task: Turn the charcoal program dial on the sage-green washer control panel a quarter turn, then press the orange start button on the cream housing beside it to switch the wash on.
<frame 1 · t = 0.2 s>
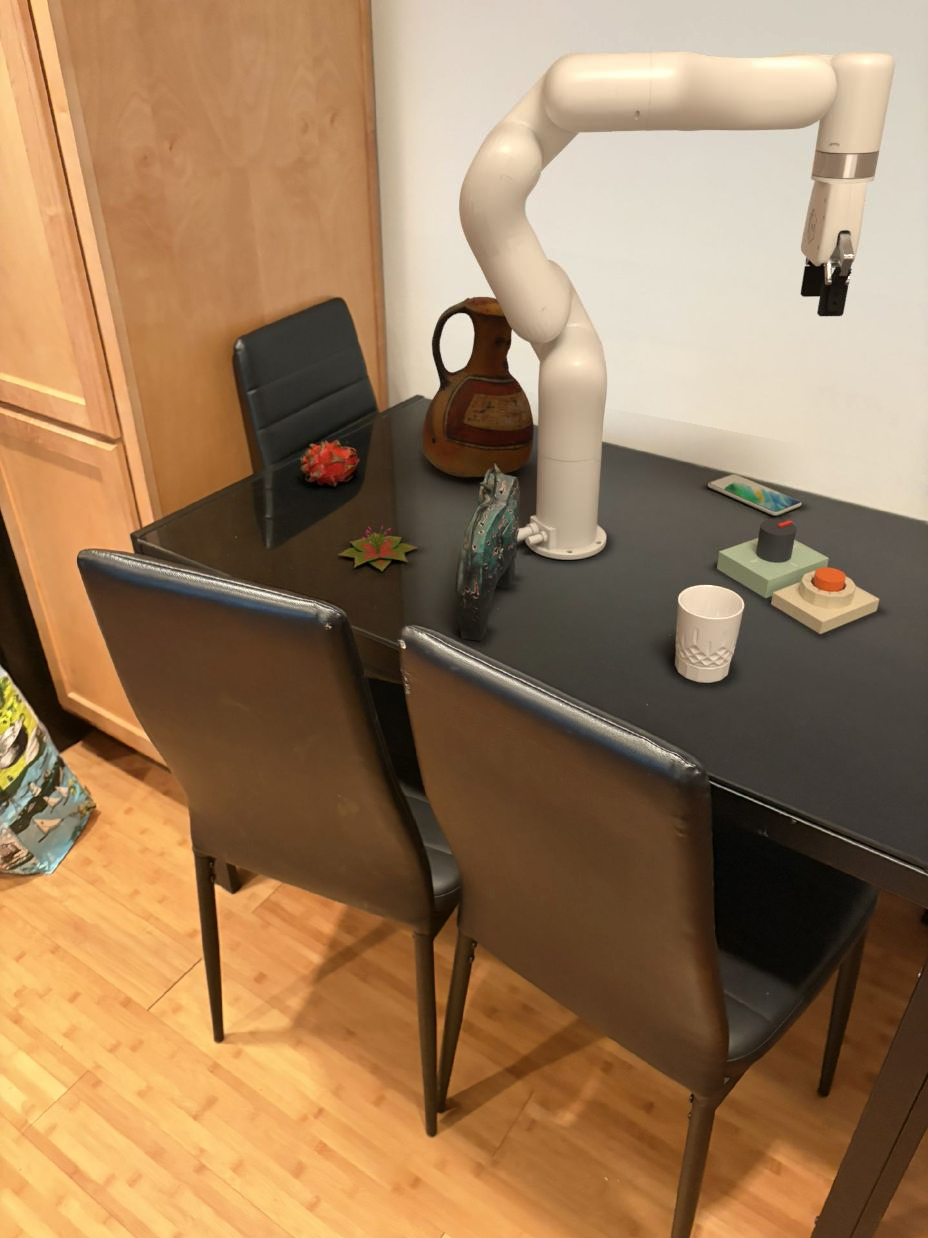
hand: (820, 305, 130), 37 cm above the table, tool pointing down, fingers open, 9 cm apart
white cup: (701, 669, 123), on the table
smartphone: (752, 497, 164), on the table
program dial: (776, 539, 140), point 5 cm above the table, hinge at 0.0°
start button: (829, 580, 132), point 4 cm above the table, slide at 0.1 cm
dragon fruit: (332, 482, 173), on the table
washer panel: (770, 572, 143), on the table
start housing: (823, 607, 135), on the table
lily flower: (378, 555, 150), on the table
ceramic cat: (490, 607, 137), on the table
ceramic pitcher: (478, 468, 177), on the table
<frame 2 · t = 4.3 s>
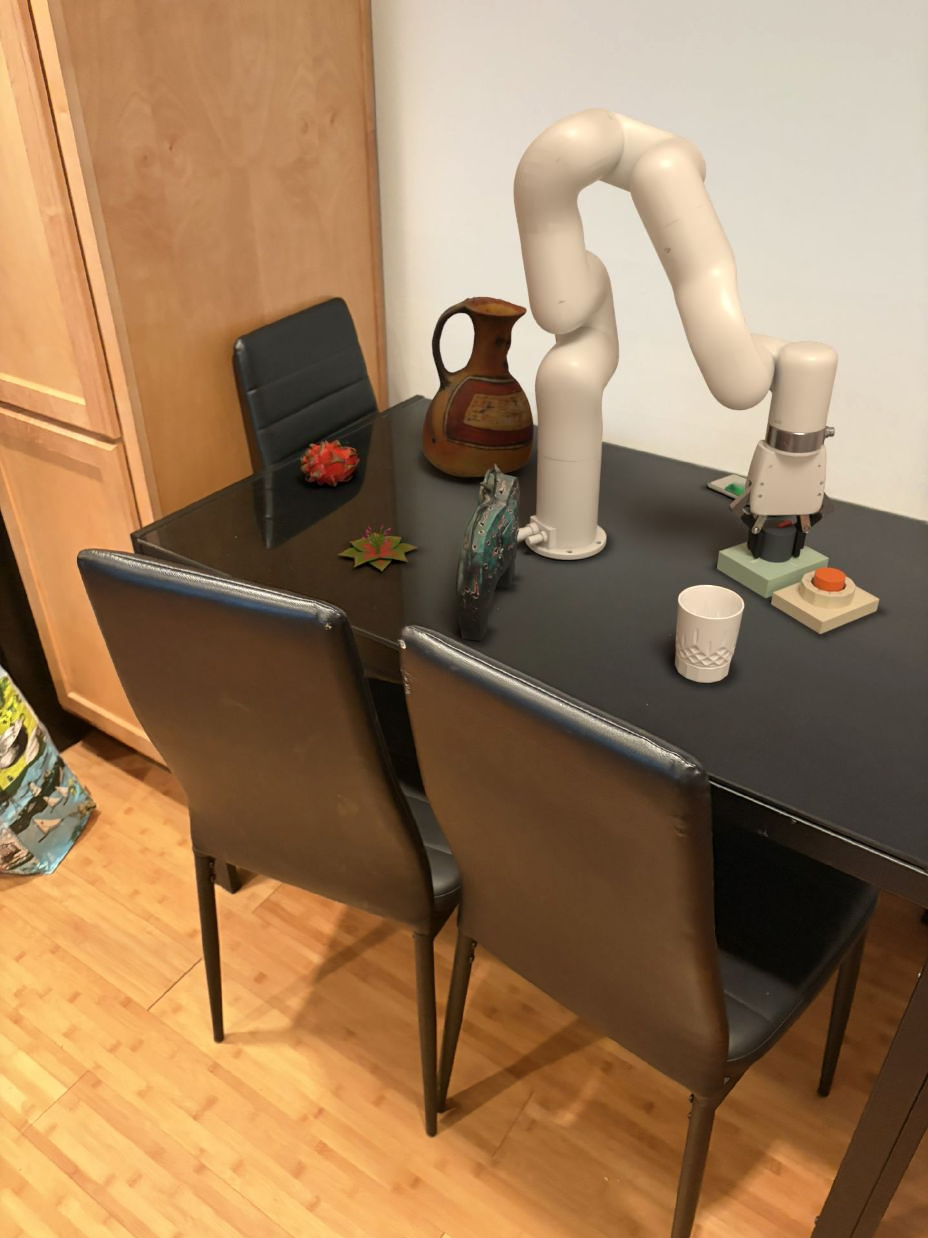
hand: (774, 551, 141), 3 cm above the table, tool pointing down, fingers closed on program dial, 5 cm apart
program dial: (776, 539, 140), point 5 cm above the table, hinge at 0.0°, touching gripper
everything else where it was.
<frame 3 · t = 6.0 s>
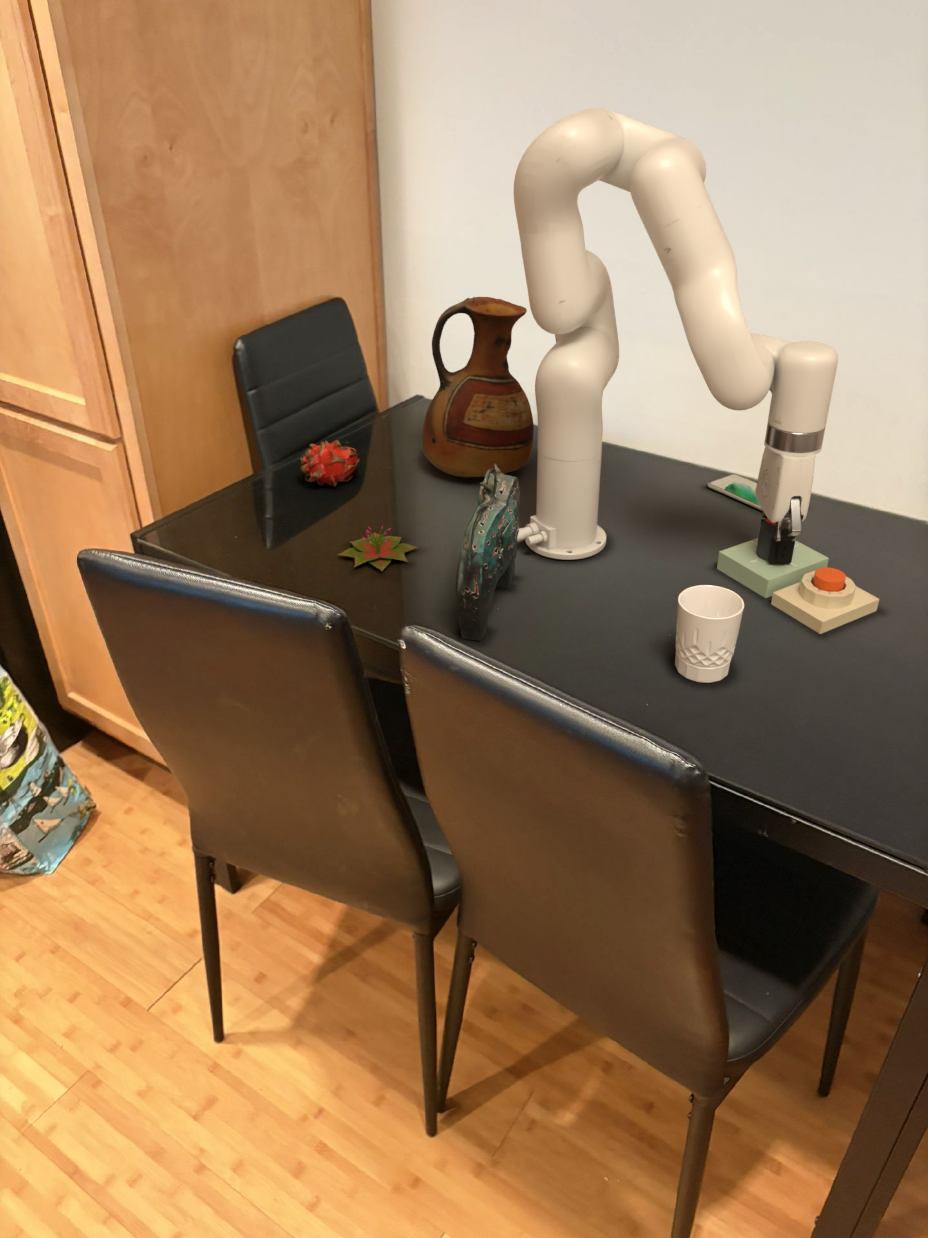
hand: (774, 552, 141), 3 cm above the table, tool pointing down, fingers closed on program dial, 5 cm apart
program dial: (776, 539, 140), point 5 cm above the table, hinge at 89.7°, touching gripper
everything else where it was.
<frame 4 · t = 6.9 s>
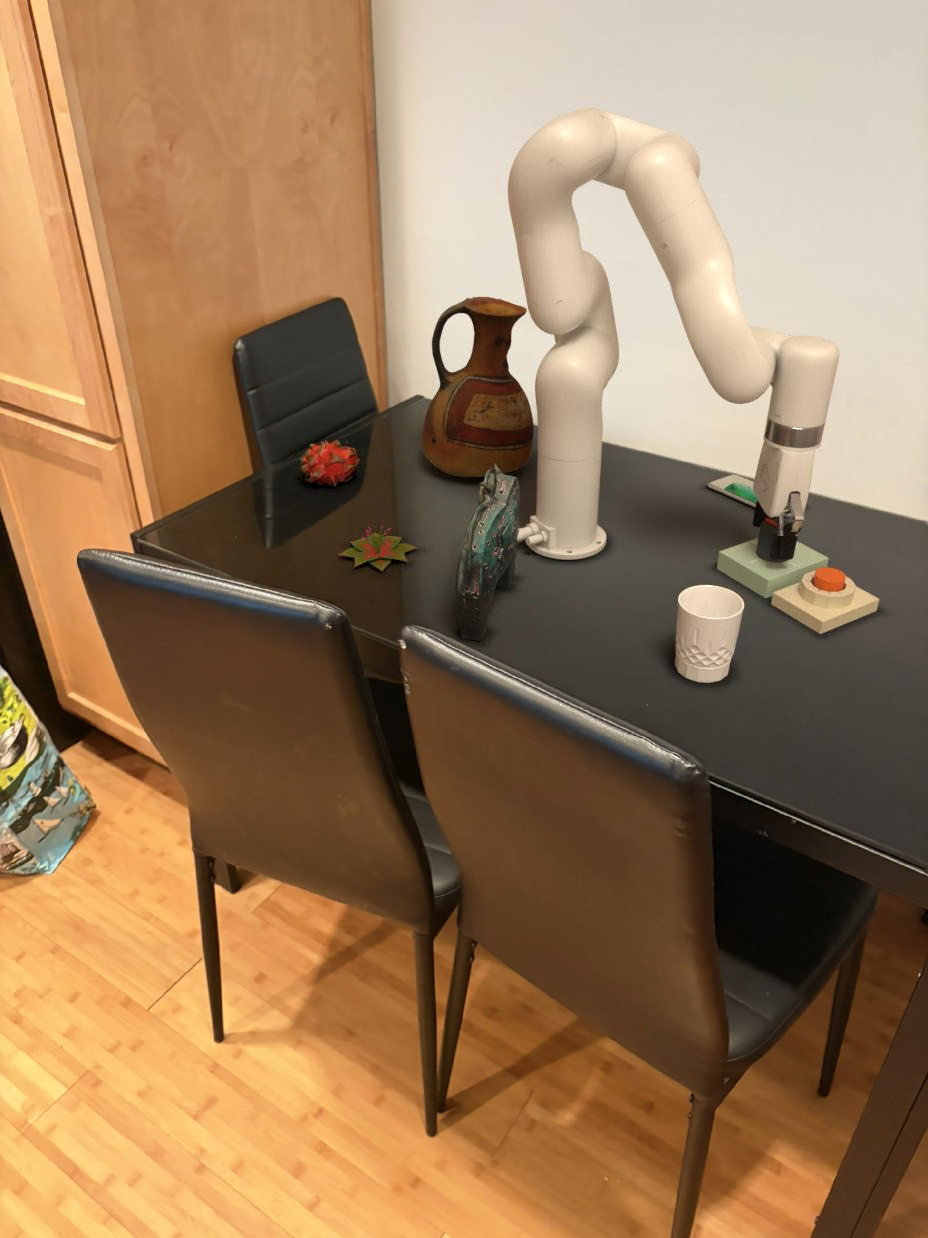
hand: (771, 541, 140), 5 cm above the table, tool pointing down, fingers open, 9 cm apart
program dial: (776, 539, 140), point 5 cm above the table, hinge at 88.6°
everything else where it was.
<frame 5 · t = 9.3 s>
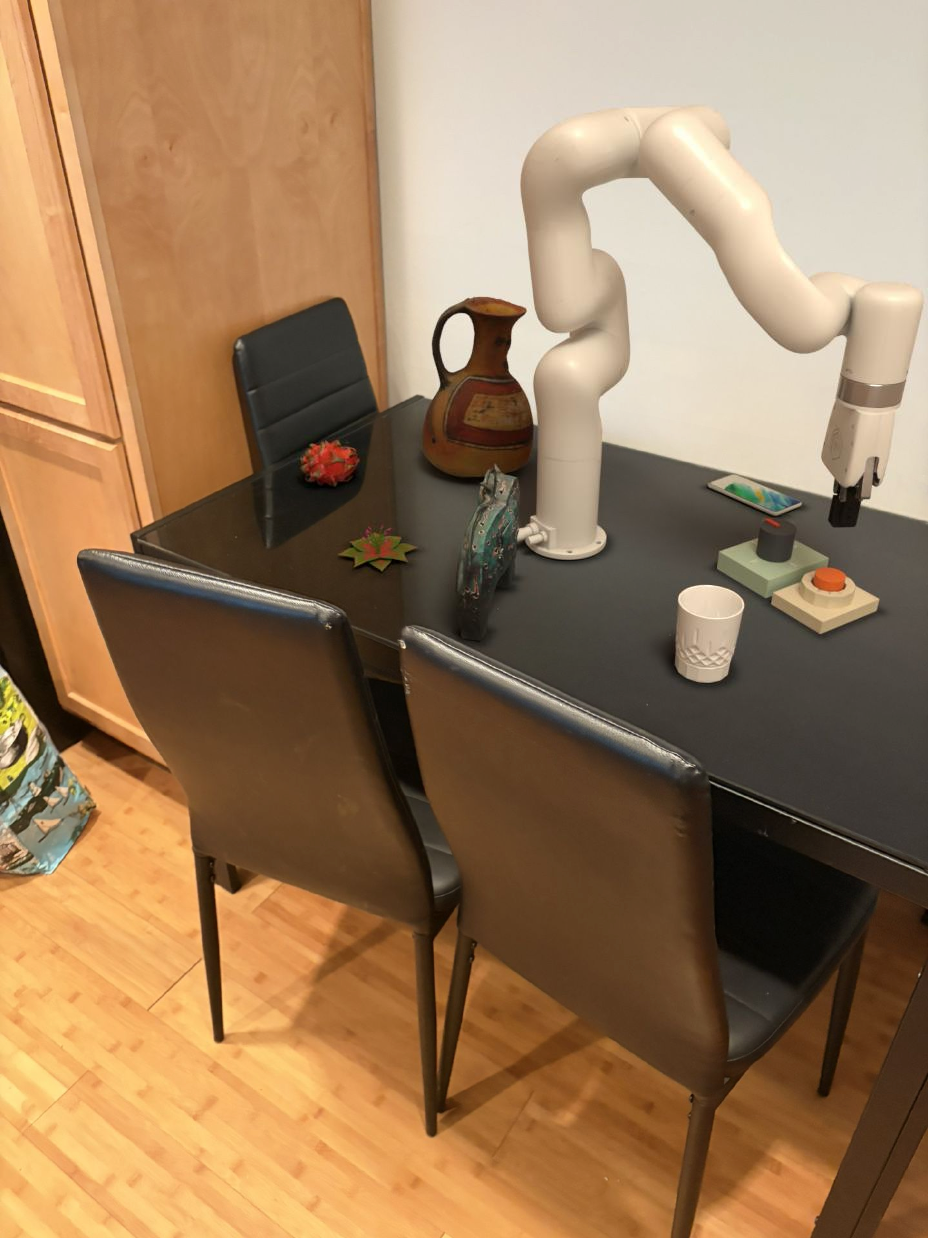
hand: (841, 524, 127), 13 cm above the table, tool pointing down, fingers closed
nothing on the table moved.
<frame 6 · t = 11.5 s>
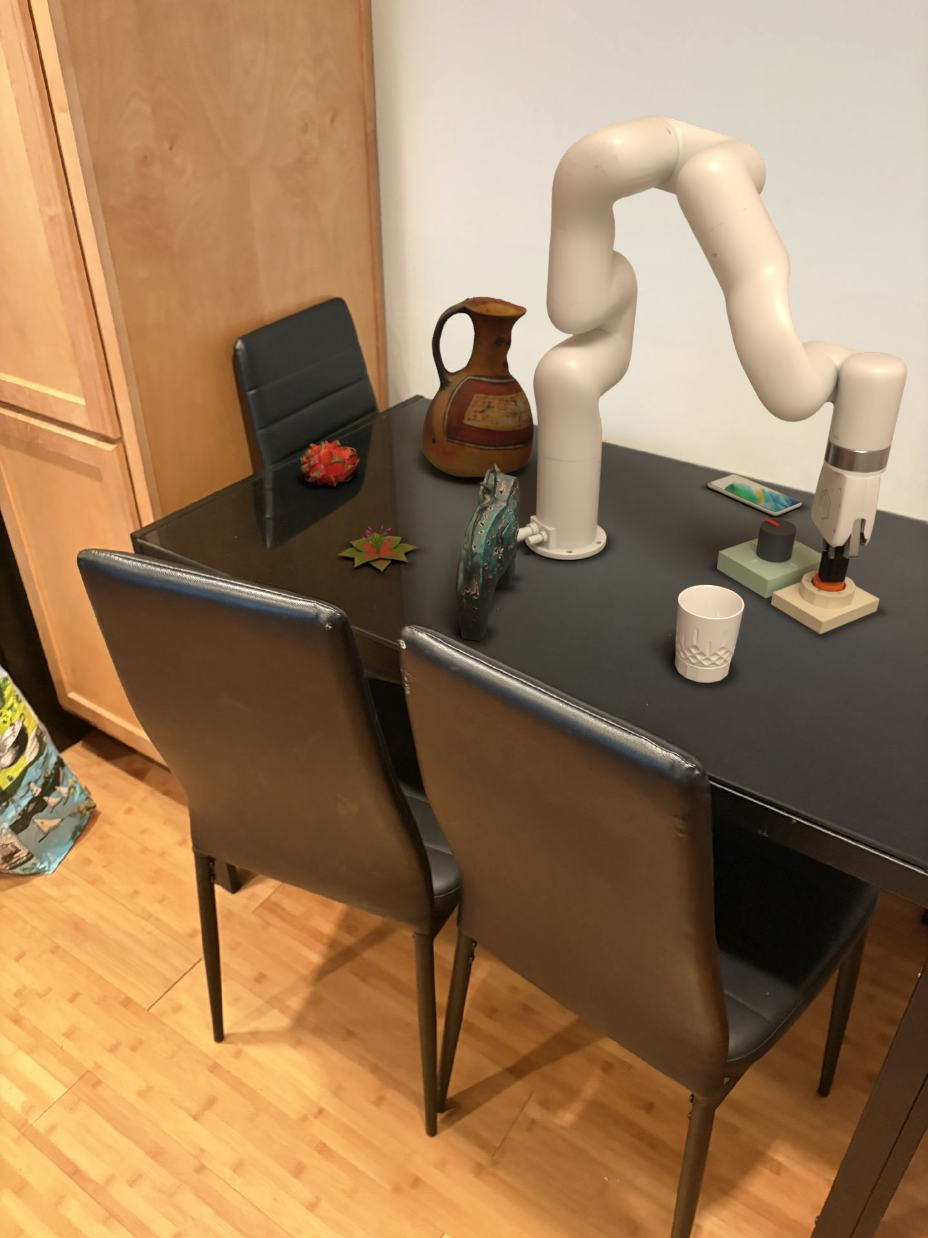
hand: (830, 579, 132), 5 cm above the table, tool pointing down, fingers closed
start button: (828, 584, 133), point 4 cm above the table, slide at -0.6 cm, touching gripper
everything else where it was.
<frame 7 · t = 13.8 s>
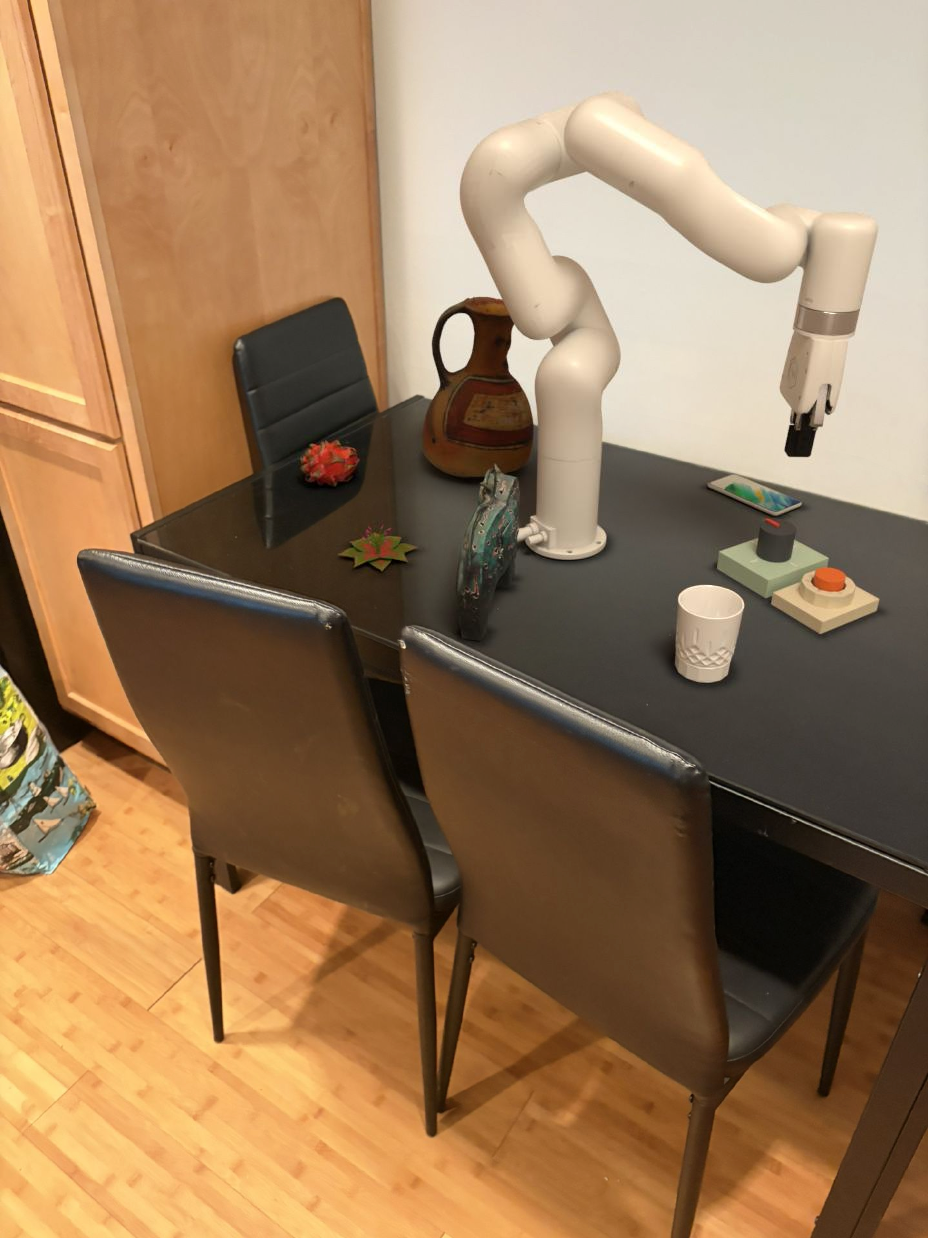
hand: (797, 454, 132), 19 cm above the table, tool pointing down, fingers closed
start button: (829, 580, 132), point 4 cm above the table, slide at 0.1 cm
everything else where it was.
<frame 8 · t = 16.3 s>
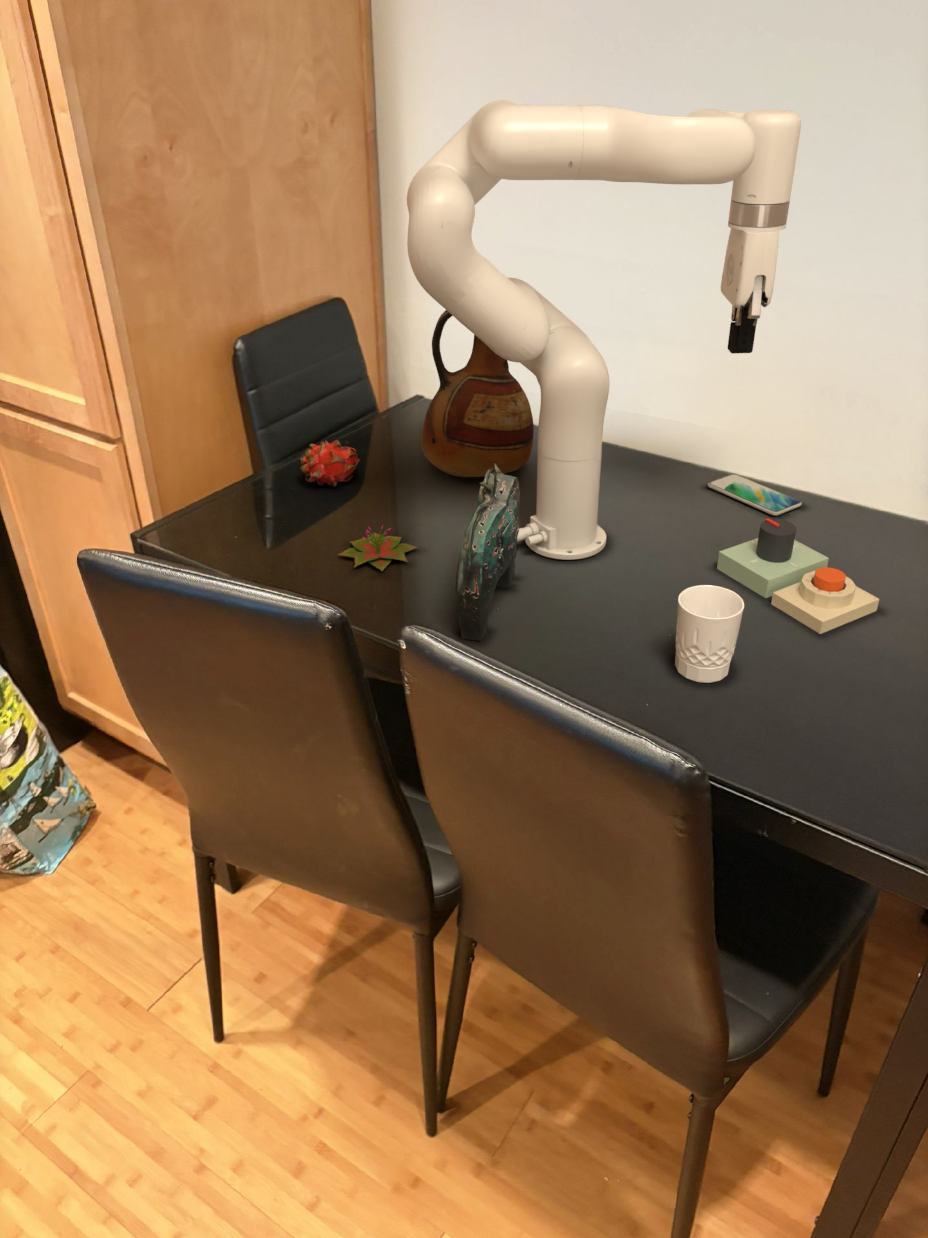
hand: (739, 351, 138), 29 cm above the table, tool pointing down, fingers closed
nothing on the table moved.
at the end: program dial at +89° (first picture: +0°); start button pushed in 0.9 cm at the most during the clip, back to where it started at the end; start button slide at 0.1 cm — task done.
